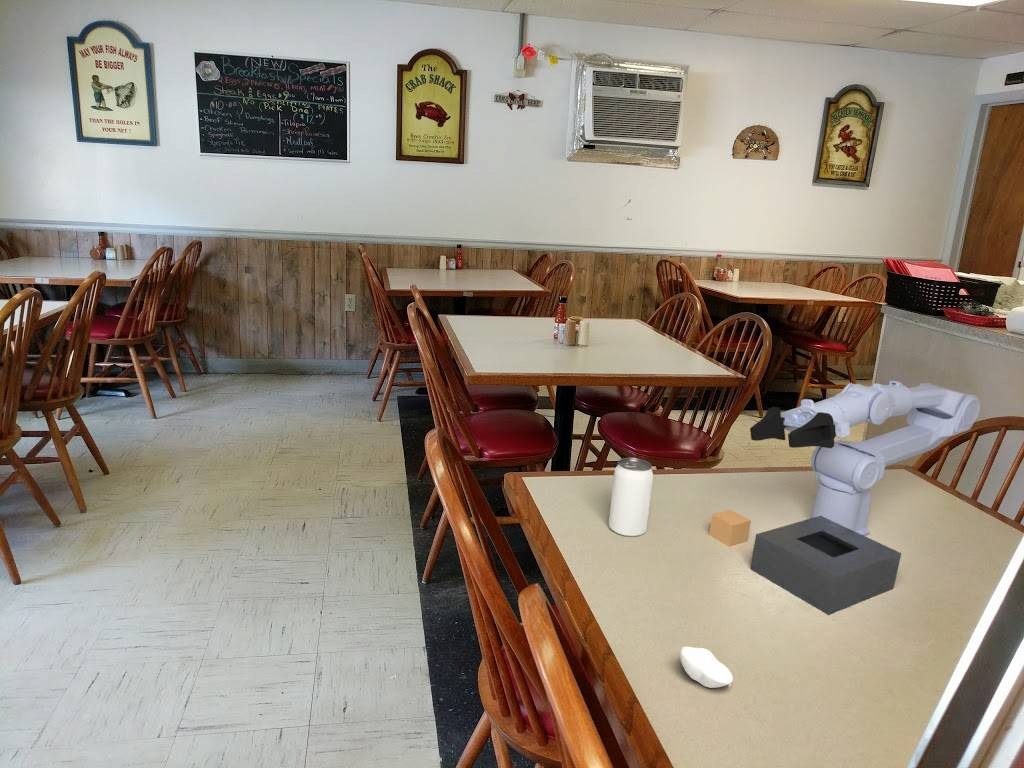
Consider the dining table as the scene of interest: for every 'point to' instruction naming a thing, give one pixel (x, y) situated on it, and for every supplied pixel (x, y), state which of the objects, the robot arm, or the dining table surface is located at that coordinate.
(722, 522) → the block
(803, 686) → the dining table surface
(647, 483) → the can
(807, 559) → the grey box with hole
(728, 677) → the dumpling
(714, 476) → the dining table surface
